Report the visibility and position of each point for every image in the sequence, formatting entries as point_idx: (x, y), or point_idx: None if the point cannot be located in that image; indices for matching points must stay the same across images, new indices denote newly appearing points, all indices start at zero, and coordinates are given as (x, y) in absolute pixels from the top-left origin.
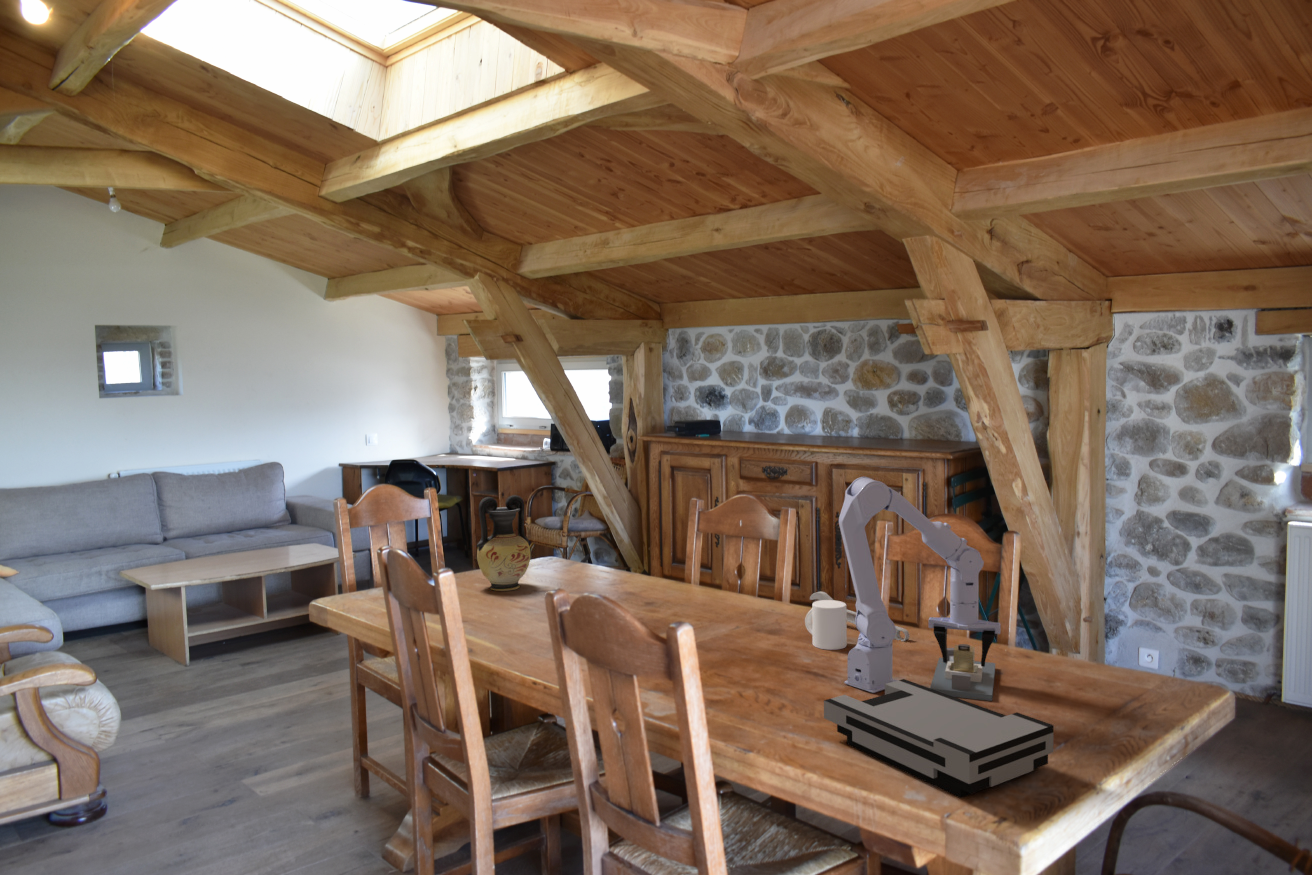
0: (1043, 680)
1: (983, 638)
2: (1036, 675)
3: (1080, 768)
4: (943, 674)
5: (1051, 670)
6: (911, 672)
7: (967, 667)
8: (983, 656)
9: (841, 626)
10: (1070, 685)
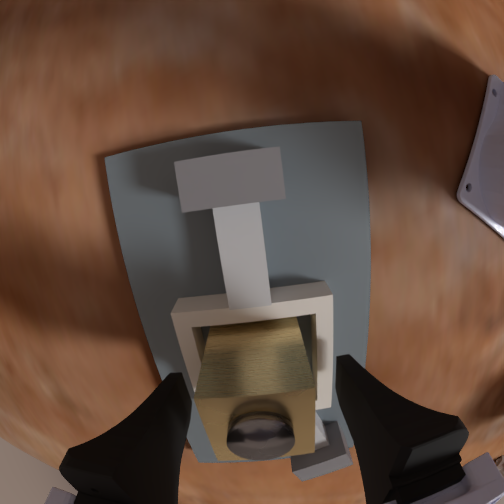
0: (74, 403)
1: (110, 462)
2: (102, 429)
3: None
4: (335, 324)
5: None
6: (429, 330)
7: (233, 339)
8: (156, 397)
9: None
10: (27, 383)
